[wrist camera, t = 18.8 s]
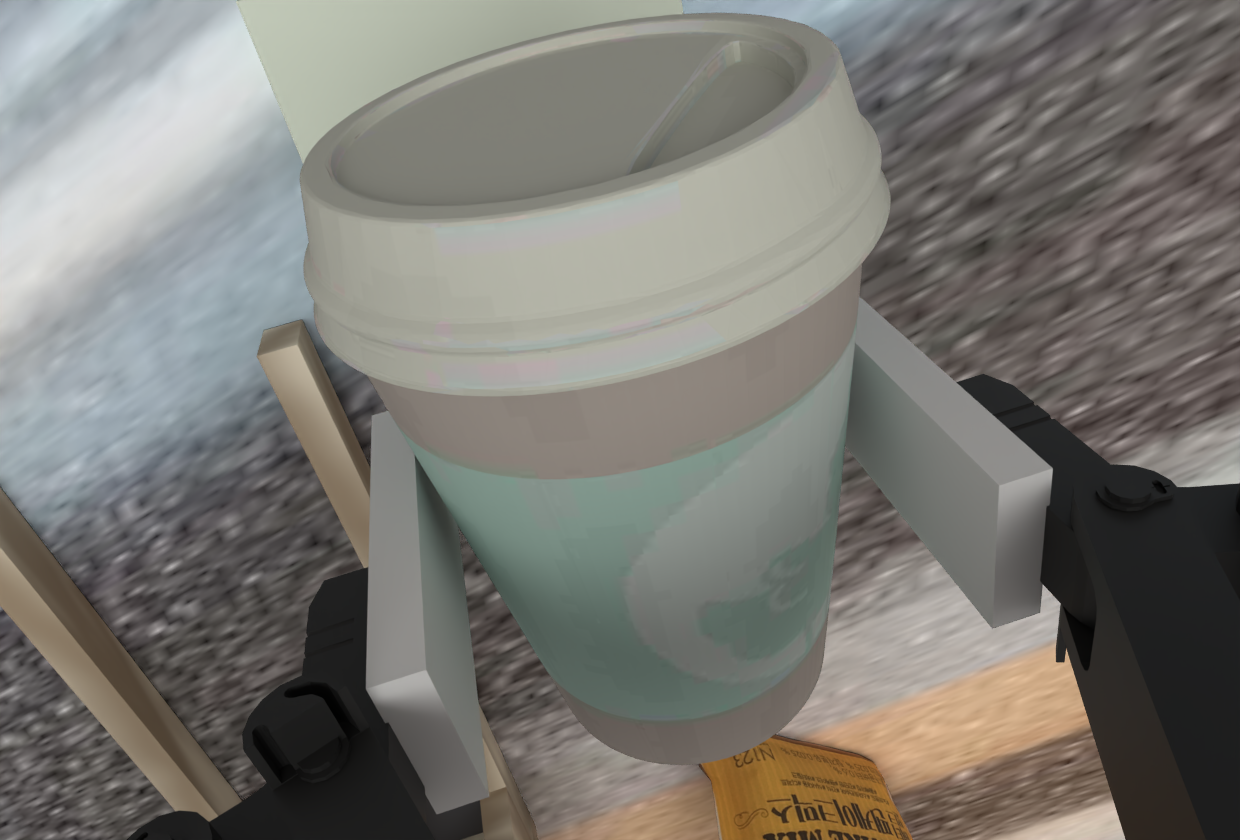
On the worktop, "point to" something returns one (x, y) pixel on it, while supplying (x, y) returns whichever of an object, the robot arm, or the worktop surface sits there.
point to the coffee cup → (622, 346)
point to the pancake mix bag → (802, 795)
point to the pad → (396, 45)
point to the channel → (124, 697)
